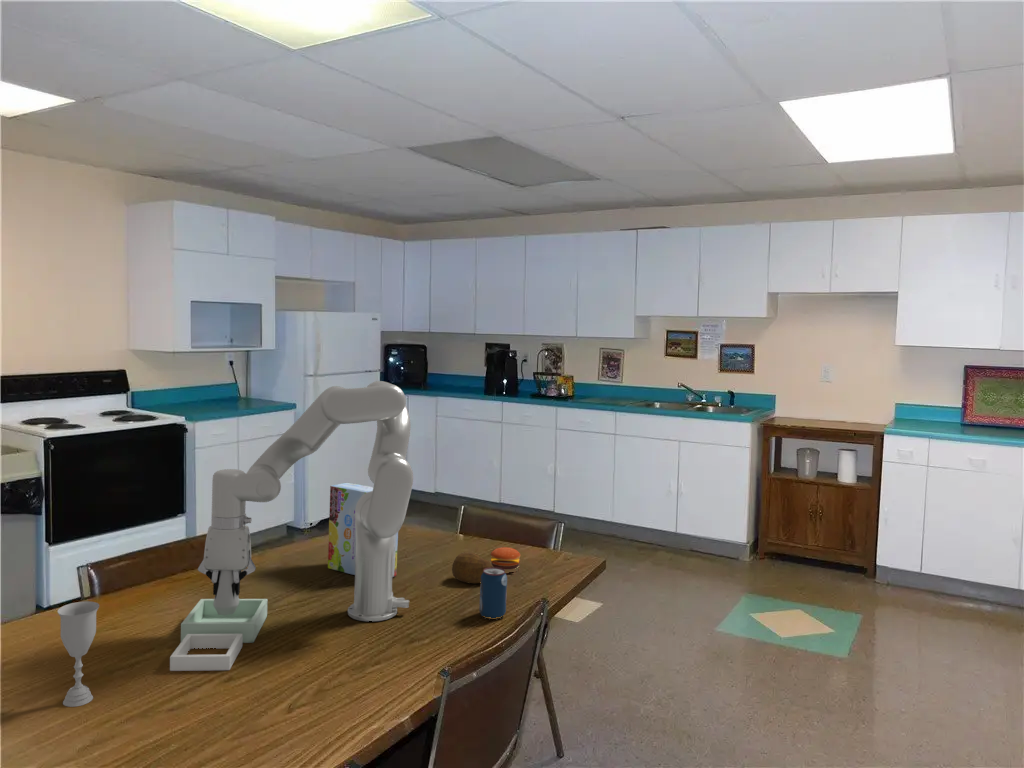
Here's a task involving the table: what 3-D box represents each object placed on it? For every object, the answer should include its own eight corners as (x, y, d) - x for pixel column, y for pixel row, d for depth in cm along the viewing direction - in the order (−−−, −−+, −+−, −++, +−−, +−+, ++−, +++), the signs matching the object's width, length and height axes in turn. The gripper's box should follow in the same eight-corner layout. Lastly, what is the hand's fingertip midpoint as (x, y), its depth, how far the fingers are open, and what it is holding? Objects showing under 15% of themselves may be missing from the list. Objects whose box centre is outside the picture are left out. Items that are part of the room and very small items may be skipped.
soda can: (511, 616, 196) (513, 571, 195) (492, 622, 191) (494, 576, 190) (492, 608, 200) (494, 564, 200) (473, 615, 195) (475, 569, 195)
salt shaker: (230, 618, 175) (231, 563, 175) (208, 615, 177) (209, 561, 176) (243, 609, 181) (245, 556, 180) (222, 606, 182) (223, 554, 181)
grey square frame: (242, 646, 170) (242, 633, 170) (229, 670, 158) (229, 656, 158) (187, 646, 169) (187, 633, 168) (169, 670, 157) (170, 656, 156)
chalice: (69, 690, 146) (69, 601, 145) (105, 691, 147) (106, 601, 146) (49, 709, 139) (49, 615, 138) (87, 709, 140) (88, 615, 139)
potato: (481, 590, 214) (482, 560, 214) (445, 583, 219) (446, 553, 219) (494, 582, 222) (495, 553, 222) (459, 575, 227) (460, 546, 226)
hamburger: (490, 563, 240) (491, 543, 239) (520, 565, 240) (521, 545, 239) (488, 573, 230) (489, 551, 230) (519, 574, 230) (520, 553, 230)
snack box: (398, 576, 223) (402, 491, 222) (378, 583, 216) (381, 495, 214) (346, 561, 235) (348, 480, 233) (325, 568, 228) (328, 484, 226)
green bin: (267, 616, 188) (267, 598, 188) (253, 642, 172) (253, 623, 172) (200, 616, 186) (201, 598, 186) (180, 643, 170) (180, 624, 170)
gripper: (267, 518, 182) (264, 592, 183) (196, 517, 180) (195, 592, 181) (260, 526, 175) (258, 603, 176) (187, 525, 173) (185, 603, 174)
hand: (226, 597), depth 179 cm, fingers closed on salt shaker, 3 cm apart
